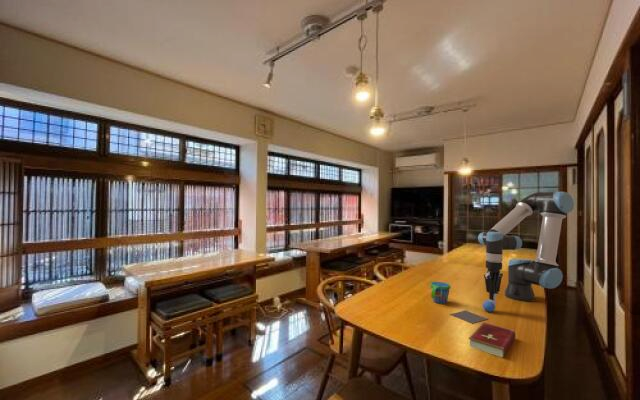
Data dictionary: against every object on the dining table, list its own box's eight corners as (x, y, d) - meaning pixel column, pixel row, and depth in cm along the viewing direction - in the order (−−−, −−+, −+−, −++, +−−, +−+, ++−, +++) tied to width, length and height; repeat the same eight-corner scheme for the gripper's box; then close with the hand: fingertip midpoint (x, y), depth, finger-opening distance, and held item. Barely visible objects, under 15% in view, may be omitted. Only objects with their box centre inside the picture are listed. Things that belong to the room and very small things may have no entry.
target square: (465, 310, 150) (465, 310, 150) (488, 319, 139) (488, 318, 139) (450, 314, 144) (450, 314, 144) (472, 323, 133) (472, 323, 133)
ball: (491, 308, 152) (490, 298, 152) (497, 313, 147) (497, 302, 146) (481, 309, 152) (480, 299, 152) (487, 314, 146) (486, 304, 146)
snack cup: (439, 296, 171) (440, 279, 171) (456, 302, 162) (456, 284, 162) (423, 301, 163) (423, 283, 163) (440, 307, 154) (440, 288, 154)
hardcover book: (515, 340, 119) (515, 330, 119) (504, 360, 104) (504, 348, 104) (483, 330, 128) (483, 321, 128) (468, 347, 112) (468, 337, 112)
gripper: (494, 259, 157) (493, 301, 157) (479, 260, 151) (478, 304, 151) (508, 261, 151) (507, 306, 150) (493, 263, 145) (492, 309, 145)
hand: (492, 305), depth 151 cm, fingers closed
